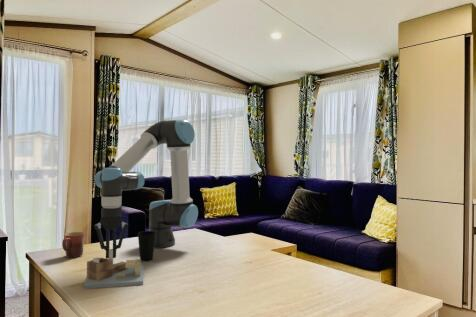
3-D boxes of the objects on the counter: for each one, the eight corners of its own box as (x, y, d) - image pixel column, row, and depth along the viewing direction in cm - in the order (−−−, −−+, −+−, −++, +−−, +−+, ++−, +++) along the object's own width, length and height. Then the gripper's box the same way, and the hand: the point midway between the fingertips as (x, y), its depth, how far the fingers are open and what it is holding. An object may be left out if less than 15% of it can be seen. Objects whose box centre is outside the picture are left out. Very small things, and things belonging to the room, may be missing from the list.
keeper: (140, 270, 141) (141, 259, 141) (140, 277, 133) (140, 265, 133) (118, 272, 139) (118, 260, 139) (116, 278, 131) (116, 266, 131)
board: (143, 266, 150) (143, 264, 150) (143, 284, 129) (143, 281, 129) (92, 270, 145) (92, 267, 145) (83, 288, 124) (83, 285, 124)
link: (119, 266, 145) (119, 252, 145) (130, 269, 142) (130, 254, 142) (86, 277, 132) (86, 261, 132) (98, 281, 129) (98, 264, 129)
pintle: (99, 276, 134) (99, 257, 134) (98, 278, 132) (99, 259, 132) (93, 276, 134) (93, 257, 134) (92, 278, 131) (92, 259, 131)
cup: (157, 257, 164) (157, 231, 164) (151, 262, 156) (152, 234, 156) (141, 256, 165) (141, 230, 165) (134, 261, 157) (135, 234, 157)
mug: (72, 253, 170) (72, 231, 170) (88, 254, 168) (88, 232, 168) (54, 260, 158) (54, 236, 158) (72, 261, 156) (72, 238, 156)
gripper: (128, 205, 147) (128, 262, 147) (95, 205, 143) (94, 264, 143) (128, 207, 140) (127, 267, 140) (92, 208, 136) (92, 270, 136)
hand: (110, 266), depth 142 cm, fingers closed
